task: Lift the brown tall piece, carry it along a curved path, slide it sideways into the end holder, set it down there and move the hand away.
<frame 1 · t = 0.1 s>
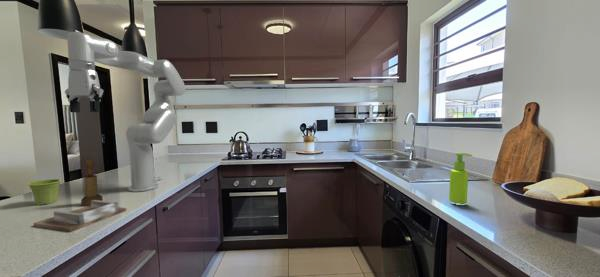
hand: (85, 112, 97), 36 cm above the countertop, tool pointing down, fingers open, 9 cm apart
brown tall piece: (92, 203, 101), on the countertop
soap dispenser: (459, 204, 99), on the countertop
end holder: (83, 217, 86), on the countertop
plant pot: (46, 203, 102), on the countertop
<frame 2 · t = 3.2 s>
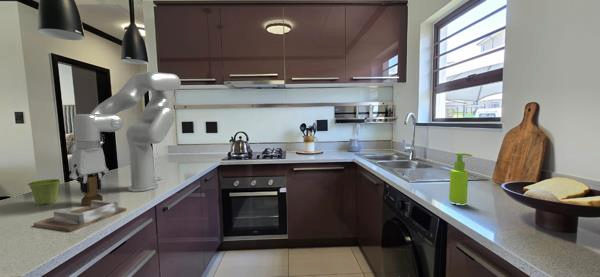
hand: (91, 190, 100), 5 cm above the countertop, tool pointing down, fingers closed on brown tall piece, 3 cm apart
brown tall piece: (92, 203, 101), on the countertop, touching gripper
everything else where it was.
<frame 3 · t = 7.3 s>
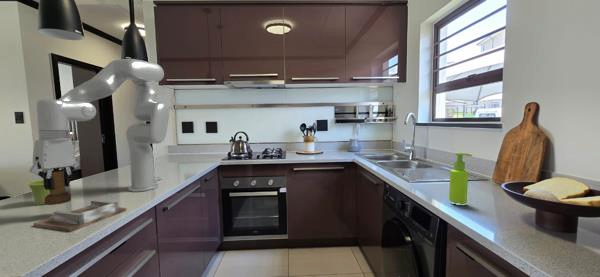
hand: (57, 187, 87), 10 cm above the countertop, tool pointing down, fingers closed on brown tall piece, 3 cm apart
brown tall piece: (58, 202, 88), point 5 cm above the countertop, touching gripper
everything else where it was.
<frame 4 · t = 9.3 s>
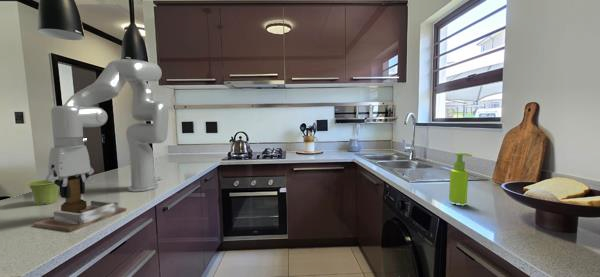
hand: (73, 194, 86), 8 cm above the countertop, tool pointing down, fingers closed on brown tall piece, 3 cm apart
brown tall piece: (74, 210, 87), point 2 cm above the countertop, touching gripper
everything else where it was.
when the fingers open (7 cm above the countertop, at t = 11.3 s): brown tall piece stays where it is, resting on end holder.
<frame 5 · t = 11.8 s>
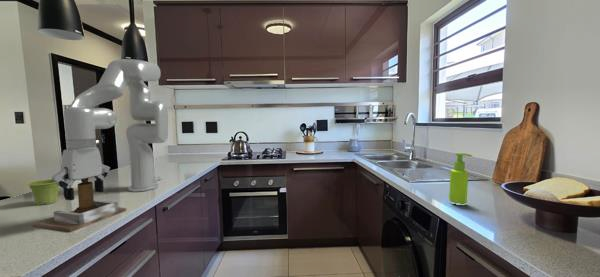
hand: (85, 195, 85), 8 cm above the countertop, tool pointing down, fingers open, 8 cm apart
brown tall piece: (87, 215, 85), point 1 cm above the countertop, touching end holder
everything else where it was.
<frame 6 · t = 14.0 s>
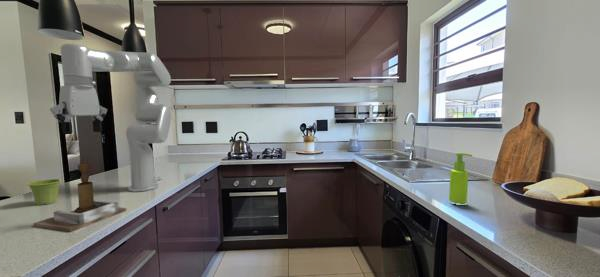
hand: (83, 132, 87), 29 cm above the countertop, tool pointing down, fingers open, 9 cm apart
nothing on the countertop moved.
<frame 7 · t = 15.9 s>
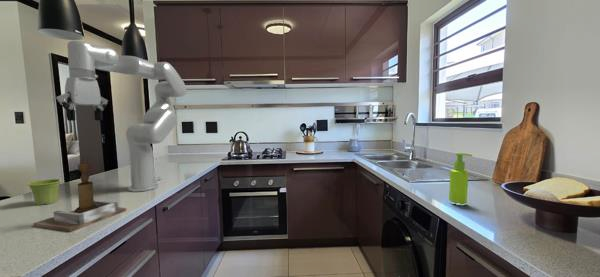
hand: (85, 120, 97), 33 cm above the countertop, tool pointing down, fingers open, 9 cm apart
nothing on the countertop moved.
at the end: brown tall piece 0.2 cm from the target spot on the end holder, point 0.8 cm above the end holder's base; brown tall piece tilted 0°; the gripper is holding nothing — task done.
